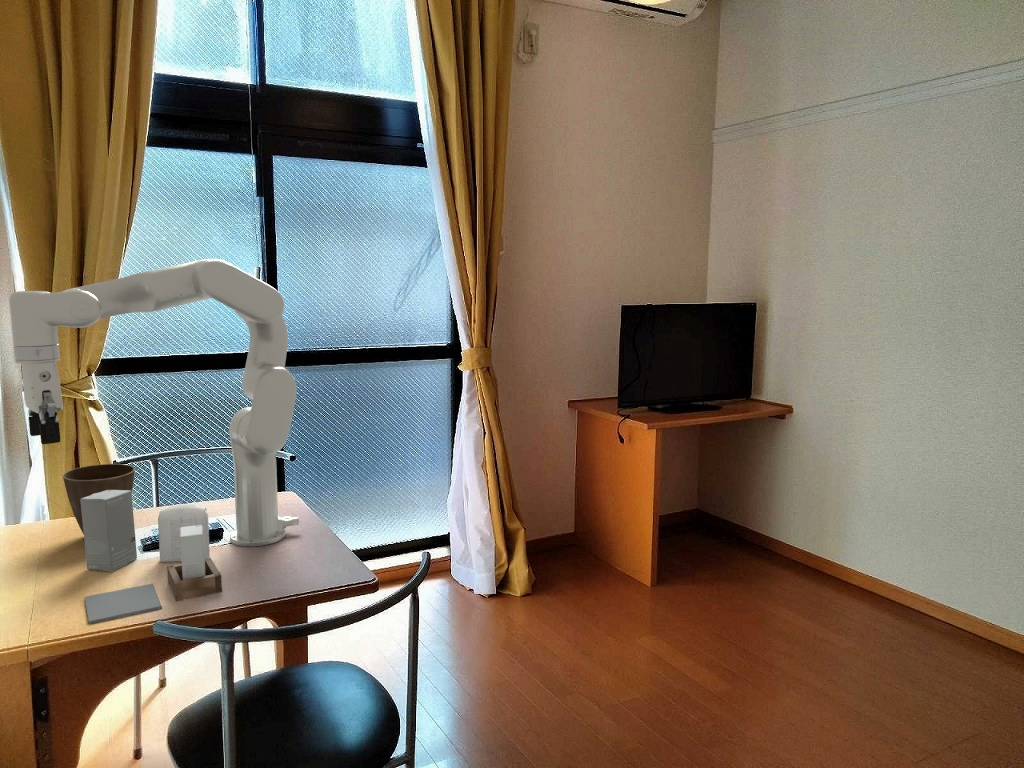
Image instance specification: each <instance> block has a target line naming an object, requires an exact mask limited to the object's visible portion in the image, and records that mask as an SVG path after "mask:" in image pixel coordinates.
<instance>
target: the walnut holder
mask: <svg viewBox="0 0 1024 768" xmlns="http://www.w3.org/2000/svg"><path fill="white" fill-rule="evenodd" d="M204 561H205V575H206V576H202V577H197V578H192V579H187V580H183V575H182V562H180V563H176V564H171V565H167V566H166V568H167V569H166V571H167V583H168V585H170V586H169V588H170V590H171V592H172V595H173V597H174V599H175V601H176V602H180V601H179V600H181V601H184V599H185V600H188V599H189V598H190V599H194V597H195V598H199V597H198V596H200V597H204V596H207V595H214V594H219V593H222V592H223V584H222V583H223V582H222V574H221V571H220V570H219V569H218V567H217V565H216V564H215V562H214V561H213V559H212V557H209V558H207V559H204ZM190 599H189V600H190Z"/></svg>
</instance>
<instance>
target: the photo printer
mask: <svg viewBox="0 0 1024 768" xmlns="http://www.w3.org/2000/svg"><path fill="white" fill-rule="evenodd" d="M158 513H159V514H158V516H157V522H158V523H157V525H158V526H157V527H158V543H159V544H158V547H159V549H158V551H159V560H160V562H161V563H166V562H182V561H181V544H180V528H181V527H187V526H196V525H202V528H203V545H204V559H208V558H210V556H211V555H210V554H211V553H210V531H209V530H210V529H209V514H208V512H207V507H206V506H203V505H199V504H198V505H197V504H190V503H189V504H188V503H187V504H186V503H184V504H183V503H182V504H175V505H169V506H167V507H163V508H161V509H160V510H159V512H158Z"/></svg>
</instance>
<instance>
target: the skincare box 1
mask: <svg viewBox="0 0 1024 768" xmlns="http://www.w3.org/2000/svg"><path fill="white" fill-rule="evenodd" d="M80 502H81V511H82V522H83V532H84V535H83V540H84V550H85V551H84V552H85V562H86V569H87V570H92V571H93V570H94V571H104V572H109V573H110V572H114V571H116V570H118V569H120V568H122V567H123V566H125V565H128V564H129V563H131V562H132V561H134V560H136V559H137V558H138V555H137V554H138V552H137V542H136V532H135V531H136V530H135V519H134V509H133V508H134V506H133V492H132V493H131V490H106V491H103V492H99V493H95V494H92V495H90V496H87V497H84V498H81V499H80Z"/></svg>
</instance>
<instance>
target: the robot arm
mask: <svg viewBox="0 0 1024 768" xmlns="http://www.w3.org/2000/svg"><path fill="white" fill-rule="evenodd" d="M208 299H213V300H215V301H216V302H219V303H220V304H222V305H224V306H226V307H227V308H230V309H232V310H233V311H234V312H235V314H236V315H238V317H239V318H241V319H242V320H243V321H244V323H245V324H246V326H247V328H248V332H249V344H248V352H247V356H246V357H247V358H246V361H245V366H244V371H243V376H242V379H241V380H242V381H241V387H242V391H243V393H244V395H245V396H246V397H247V398H248V399H250V400H252V402H251V406H248V407H247V406H246V407H243V408H241V409H239V410H238V411H237V412H236V413H235V414H233V416H232V418H231V419H230V423H229V431H228V432H229V441H230V446H231V451H232V452H231V453H232V459H233V460H232V461H233V478H234V484H233V485H234V500H235V502H234V503H235V525H236V529H235V530H233V531H232V532H231V533H230V534H229V541H230V542H231V543H232V544H233V545H236V546H241V547H260V546H267V545H270V544H271V545H272V544H275V543H276V542H279V541H281V540H283V539H284V538H285V537H286V535H287V534H286V528H287V527H293V526H299V523H300V521H299V517H298V516H295V517H291V516H290V515H289V516H283V517H281V516H280V515H279V506H278V505H279V504H278V503H279V502H278V501H279V500H278V499H279V498H278V478H277V477H278V476H277V474H278V473H277V470H278V468H277V457H276V453H278V452H279V451H281V450H282V449H283V448H284V446H285V445H286V442H287V440H288V438H289V434H290V430H291V426H292V422H293V421H292V420H293V416H294V415H293V414H294V408H295V404H296V399H297V382H296V380H295V377H294V375H293V374H292V372H290V371H289V370H288V369H287V368H285V367H286V360H287V352H288V345H289V331H288V327H287V324H286V320H285V319H284V317H283V313H284V311H285V301H284V298H283V296H282V294H281V293H280V292H279V291H278V290H277V289H276V288H274V287H273V286H271V285H270V284H268V283H266V282H264V281H263V280H260V279H259V278H257V277H255V276H253V275H252V274H250V273H247V272H246V271H244V270H242V269H241V268H238V267H237V266H235V265H233V264H232V263H230V262H227V261H226V260H223V259H218V258H209V259H208V258H207V259H199V260H194V261H190V262H185V263H184V262H183V263H180V264H175V265H171V266H170V265H169V266H165V267H161V268H156V269H150V270H146V271H143V272H138V273H134V274H131V275H127V276H123V277H120V278H116V279H115V278H114V279H109V280H106V281H101V282H96V283H92V284H87V285H82V286H77V287H72V288H69V289H65V290H62V291H59V292H57V291H56V292H49V291H46V290H45V291H44V290H23V291H22V290H20V291H19V290H18V291H14V292H12V293H11V294H10V295H9V299H8V301H9V311H10V320H11V321H10V322H11V332H12V333H11V334H12V343H13V353H14V363H16V364H21V372H22V383H23V384H22V387H23V397H24V403H25V407H27V408H28V413H27V414H28V427H29V435H30V436H31V437H36V436H37V437H38V436H40V443H41V444H42V445H50V444H58V443H60V442H61V432H60V431H61V430H60V422H59V417H58V412H61V411H62V410H63V409H64V402H63V395H62V387H61V382H60V381H61V380H60V375H59V369H58V365H57V362H59V361H61V355H60V343H59V334H58V333H59V331H58V327H64V328H65V327H67V328H79V329H82V328H88V327H91V326H92V325H95V323H97V322H98V321H99V320H102V319H105V318H109V317H114V316H119V315H125V314H131V313H132V314H134V313H153V312H160V311H163V310H167V309H171V308H175V307H179V306H183V305H187V304H193V303H196V302H200V301H204V300H208Z"/></svg>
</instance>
